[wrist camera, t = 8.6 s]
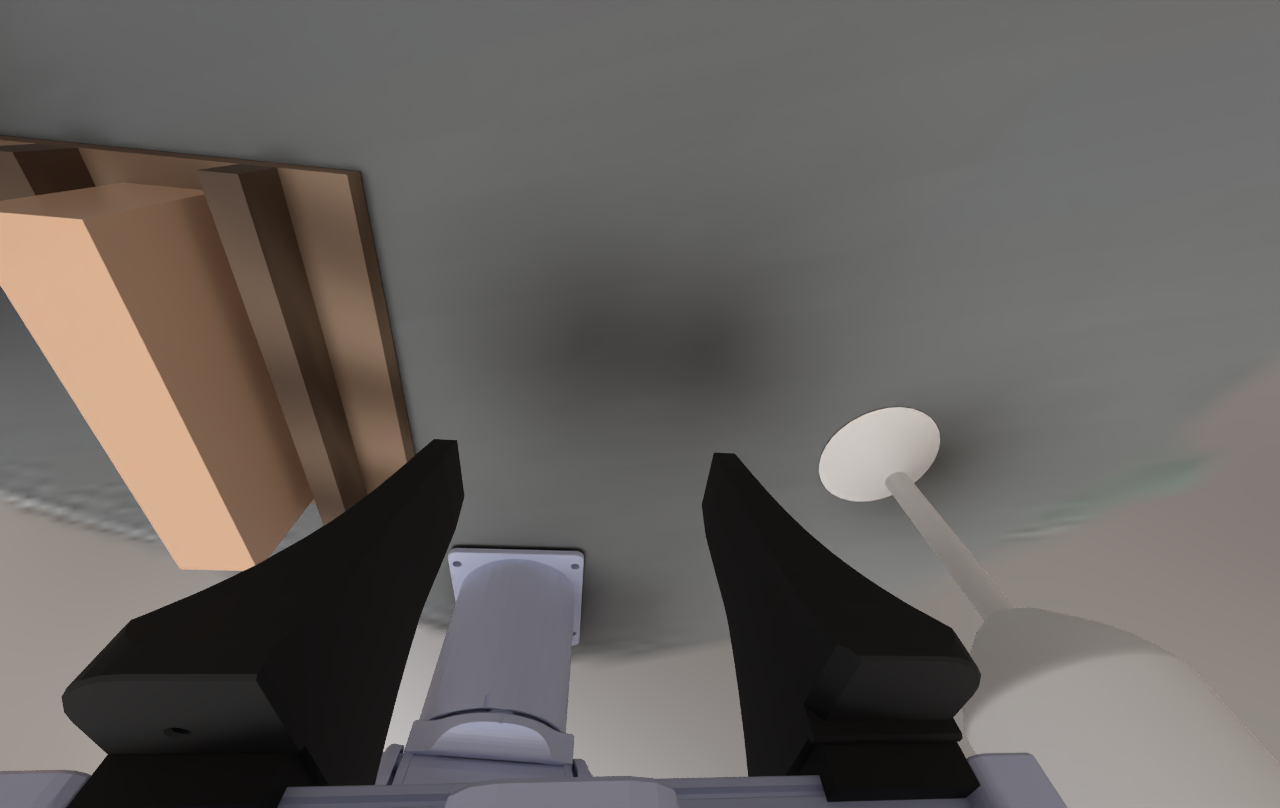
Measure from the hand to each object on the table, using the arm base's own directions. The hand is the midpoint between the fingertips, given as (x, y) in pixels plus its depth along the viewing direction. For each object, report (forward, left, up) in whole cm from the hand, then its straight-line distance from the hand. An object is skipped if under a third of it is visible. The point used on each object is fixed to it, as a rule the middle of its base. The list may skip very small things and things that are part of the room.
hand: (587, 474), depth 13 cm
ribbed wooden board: (-2, +15, -9) cm, 18 cm away
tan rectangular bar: (-2, +15, -8) cm, 17 cm away
